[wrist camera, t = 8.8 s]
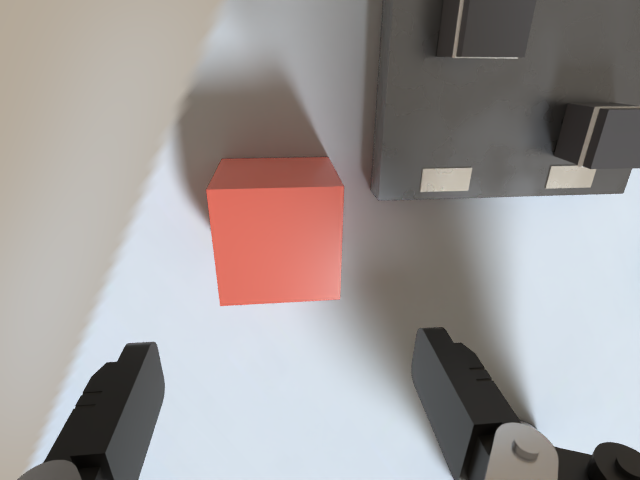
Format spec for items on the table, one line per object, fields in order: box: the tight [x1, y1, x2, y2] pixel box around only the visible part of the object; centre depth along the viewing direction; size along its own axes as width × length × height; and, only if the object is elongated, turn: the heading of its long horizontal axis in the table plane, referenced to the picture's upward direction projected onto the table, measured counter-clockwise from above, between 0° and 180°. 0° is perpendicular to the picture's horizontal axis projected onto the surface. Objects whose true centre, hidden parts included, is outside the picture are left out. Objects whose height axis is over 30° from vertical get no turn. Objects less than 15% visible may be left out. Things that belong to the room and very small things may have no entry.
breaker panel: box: [371, 0, 640, 201], centre depth 22 cm, size 15×16×3 cm
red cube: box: [206, 157, 344, 306], centre depth 22 cm, size 6×6×6 cm
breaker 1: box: [437, 0, 536, 59], centre depth 18 cm, size 3×3×3 cm
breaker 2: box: [554, 103, 640, 169], centre depth 21 cm, size 3×3×3 cm
